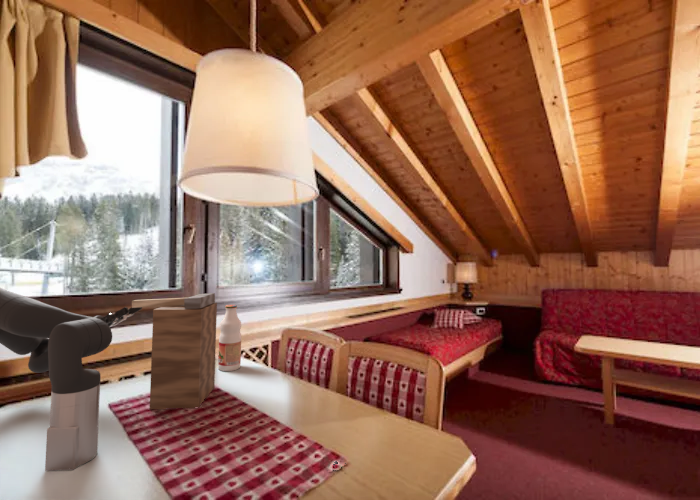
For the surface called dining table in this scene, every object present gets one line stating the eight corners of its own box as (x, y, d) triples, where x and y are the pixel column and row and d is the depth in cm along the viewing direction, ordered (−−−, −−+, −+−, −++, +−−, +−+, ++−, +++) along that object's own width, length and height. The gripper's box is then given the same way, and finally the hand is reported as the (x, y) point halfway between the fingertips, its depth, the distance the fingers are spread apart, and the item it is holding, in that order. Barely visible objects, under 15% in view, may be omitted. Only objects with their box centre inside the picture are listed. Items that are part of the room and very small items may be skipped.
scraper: (200, 308, 112) (199, 297, 112) (120, 312, 110) (120, 301, 110) (214, 302, 128) (214, 293, 128) (145, 305, 126) (145, 296, 126)
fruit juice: (235, 372, 146) (237, 307, 147) (214, 371, 147) (216, 306, 148) (243, 365, 155) (245, 304, 156) (224, 364, 156) (225, 303, 157)
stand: (198, 408, 110) (201, 309, 111) (149, 409, 109) (153, 309, 110) (214, 387, 128) (216, 302, 129) (172, 388, 127) (175, 302, 128)
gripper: (69, 325, 109) (117, 300, 110) (98, 318, 123) (139, 296, 125) (81, 346, 109) (128, 320, 111) (108, 336, 123) (149, 313, 125)
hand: (134, 307), depth 118 cm, fingers open, 8 cm apart
